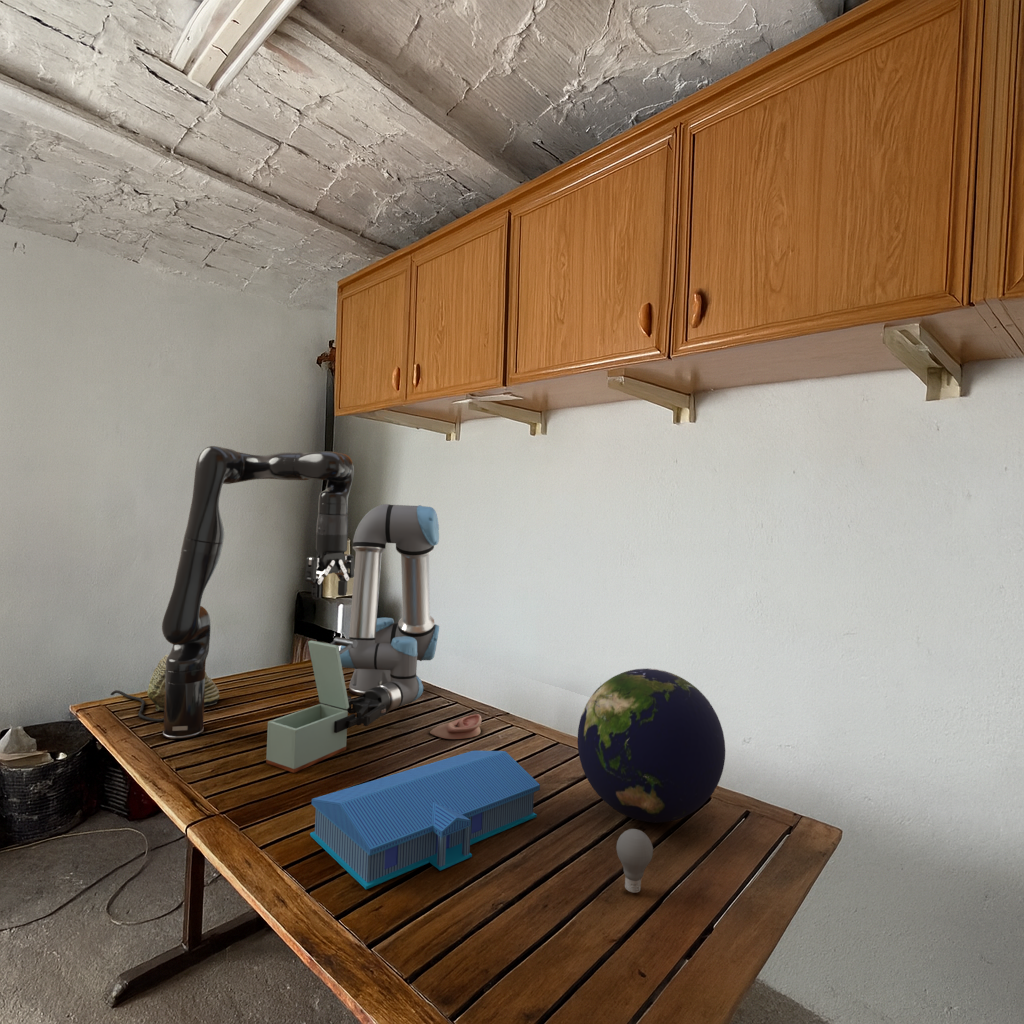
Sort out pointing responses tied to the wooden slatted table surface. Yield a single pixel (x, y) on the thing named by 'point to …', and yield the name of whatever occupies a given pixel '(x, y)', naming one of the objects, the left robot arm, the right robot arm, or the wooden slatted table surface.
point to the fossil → (158, 687)
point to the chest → (305, 737)
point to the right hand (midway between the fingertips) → (320, 722)
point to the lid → (330, 671)
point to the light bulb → (634, 857)
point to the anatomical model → (459, 728)
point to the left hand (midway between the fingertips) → (329, 597)
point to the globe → (651, 745)
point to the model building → (423, 815)
